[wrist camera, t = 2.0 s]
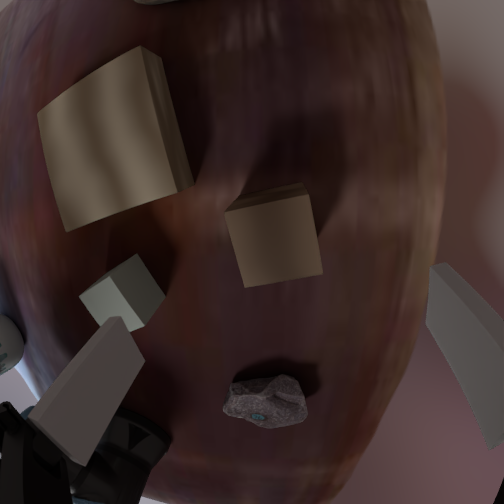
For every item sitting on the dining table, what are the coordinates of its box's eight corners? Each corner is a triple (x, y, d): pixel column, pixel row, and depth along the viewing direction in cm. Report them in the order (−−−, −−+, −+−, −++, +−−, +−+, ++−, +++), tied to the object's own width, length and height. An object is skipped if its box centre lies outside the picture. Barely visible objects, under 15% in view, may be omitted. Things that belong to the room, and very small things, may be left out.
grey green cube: (133, 311, 33) (110, 339, 27) (106, 273, 31) (78, 296, 26) (166, 296, 31) (144, 325, 26) (137, 253, 29) (109, 276, 24)
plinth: (92, 219, 29) (66, 232, 24) (65, 113, 24) (37, 113, 20) (196, 184, 26) (177, 192, 22) (162, 58, 22) (140, 45, 17)
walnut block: (254, 254, 28) (244, 287, 21) (239, 195, 26) (223, 212, 19) (314, 242, 27) (322, 273, 20) (302, 182, 25) (308, 194, 18)
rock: (216, 374, 35) (209, 399, 31) (301, 365, 33) (302, 392, 29) (233, 408, 38) (228, 431, 33) (308, 402, 36) (309, 427, 31)
